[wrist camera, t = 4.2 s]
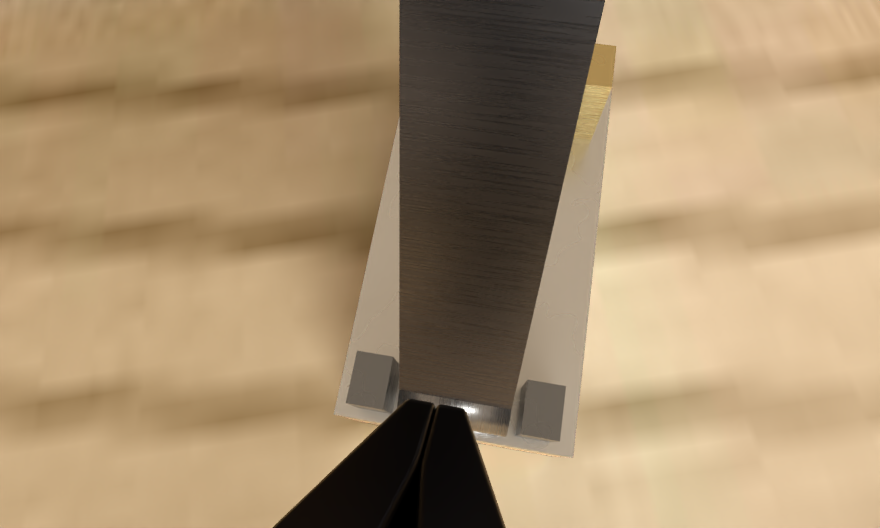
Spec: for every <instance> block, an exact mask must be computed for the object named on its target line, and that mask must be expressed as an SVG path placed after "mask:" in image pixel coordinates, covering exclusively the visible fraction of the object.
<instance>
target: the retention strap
mask: <svg viewBox="0 0 880 528" xmlns="http://www.w3.org/2000/svg"><path fill="white" fill-rule="evenodd" d="M604 3H605V0H400V123H399V395H398V402H397V408H398V407H399V406H400V405H401V404H402V403H403V402H404V401H406V400H408V399H415V400H421V401H427V402H432V403H433V404H434V405H435V407H437V406H438V405H440V404H443V405H449V406H455V407H460V408H463V409H465V411H466V412H467V415H468V418H469V421H470V423H471V426H472V429H473V431H475V432H481V433H486V434H492V435H498V436H503V437H506V436H507V432H508V428H509V422H510V416H511V410H512V405H513V401H514V396H515V392H516V388H517V383H518V379H519V375H520V370H521V366H522V361H523V357H524V353H525V348H526V344H527V339H528V335H529V331H530V326H531V322H532V318H533V313H534V309H535V304H536V300H537V296H538V291H539V287H540V283H541V278H542V274H543V269H544V265H545V261H546V256H547V252H548V248H549V243H550V239H551V234H552V230H553V226H554V221H555V217H556V213H557V208H558V204H559V199H560V195H561V191H562V186H563V182H564V178H565V173H566V169H567V164H568V160H569V156H570V151H571V147H572V143H573V138H574V134H575V129H576V125H577V121H578V116H579V112H580V108H581V103H582V99H583V94H584V90H585V86H586V81H587V77H588V73H589V68H590V64H591V59H592V55H593V51H594V46H595V42H596V38H597V33H598V29H599V24H600V20H601V16H602V11H603V7H604Z"/></svg>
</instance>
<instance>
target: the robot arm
mask: <svg viewBox="0 0 880 528" xmlns="http://www.w3.org/2000/svg"><path fill="white" fill-rule="evenodd" d="M273 528H506V527H505V524H504V521H503V518H502V515H501V512H500V509H499V506H498V503H497V500H496V498H495V495H494V492H493V489H492V486H491V483H490V480H489V477H488V474H487V471H486V468H485V465H484V462H483V459H482V456H481V453H480V450H479V447H478V444H477V441H476V438H475V435H474V432H473V429H472V426H471V423H470V421H469V418H468V415H467V412H466V411H465V409H463V408H460V407H455V406H449V405H443V404H440V405H438V406H437V407H435V405H434V404H433V403H432V402H427V401H421V400H415V399H408V400H406V401H404V402H403V403H402V404H401V405H400V406H399V407H398V408H397V409H396V410H395V411H394V412H393V413H392V414H391V415H390V416H389V417H388V418H387V419H386V420H385V421H384V422H382V423H381V424H380V425H379V426H378V427H377V428H376V429H375V430H374V431H373V432H372V433H371V434H370V435H369V436H368V437H367V438H366V439H365V440H364V441H363V442H362V443H360V444H359V445H358V446H357V447H356V448H355V449H354V450H353V451H352V452H351V453H350V454H349V455H348V456H347V457H346V458H345V459H344V460H343V461H342V462H341V463H340V464H339V465H337V466H336V467H335V468H334V469H333V470H332V471H331V472H330V473H329V474H328V475H327V476H326V477H325V478H324V479H323V480H322V481H321V482H320V483H319V484H318V485H317V486H316V487H314V488H313V489H312V490H311V491H310V492H309V493H308V494H307V495H306V496H305V497H304V498H303V499H302V500H301V501H300V502H299V503H298V504H297V505H296V506H295V507H294V508H292V509H291V510H290V511H289V512H288V513H287V514H286V515H285V516H284V517H283V518H282V519H281V520H280V521H279V522H278V523H277V524H276V525H275V526H274V527H273Z"/></svg>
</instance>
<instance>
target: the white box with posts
mask: <svg viewBox="0 0 880 528" xmlns="http://www.w3.org/2000/svg"><path fill="white" fill-rule="evenodd" d="M615 53H616V46H611V45H602V44H595V46H594V51H593V55H592V59H591V64H590V68H589V73H588V77H587V81H586V86H585V90H584V94H583V99H582V103H581V108H580V112H579V116H578V121H577V125H576V129H575V134H574V138H573V143H572V147H571V151H570V156H569V160H568V164H567V169H566V173H565V178H564V182H563V186H562V191H561V195H560V199H559V204H558V208H557V213H556V217H555V221H554V226H553V230H552V234H551V239H550V243H549V248H548V252H547V256H546V261H545V265H544V269H543V274H542V278H541V283H540V287H539V291H538V296H537V300H536V304H535V309H534V313H533V318H532V322H531V326H530V331H529V335H528V339H527V344H526V348H525V353H524V357H523V361H522V366H521V370H520V375H519V379H518V383H517V388H516V392H515V396H514V401H513V405H512V410H511V416H510V422H509V428H508V432H507V436H506V437H503V436H498V435H492V434H486V433H481V432H475V431H473V432H474V435H475V438H476V441H477V443H481V444H487V445H492V446H498V447H503V448H509V449H514V450H520V451H525V452H531V453H536V454H542V455H547V456H554V457H569V458H573V455H574V446H575V436H576V427H577V417H578V408H579V398H580V389H581V379H582V370H583V360H584V350H585V341H586V331H587V322H588V312H589V303H590V293H591V284H592V274H593V265H594V255H595V246H596V236H597V227H598V217H599V208H600V198H601V189H602V179H603V170H604V160H605V151H606V141H607V132H608V122H609V113H610V103H611V94H612V84H613V72H614V63H615ZM399 123H400V116H399V120H398V125H397V129H396V134H395V138H394V143H393V147H392V152H391V156H390V161H389V166H388V170H387V175H386V179H385V184H384V188H383V193H382V197H381V202H380V206H379V211H378V215H377V220H376V225H375V229H374V234H373V238H372V243H371V247H370V252H369V256H368V261H367V265H366V270H365V274H364V279H363V283H362V288H361V293H360V297H359V302H358V306H357V311H356V315H355V320H354V324H353V329H352V333H351V338H350V342H349V347H348V352H347V356H346V361H345V365H344V370H343V374H342V379H341V383H340V388H339V392H338V397H337V401H336V406H335V411H334V415H338V416H341V417H345V418H349V419H353V420H356V421H360V422H365V423H371V424H376V425H380V424H381V423H382V422H384V421H385V420H386V419H387V418H388V417H389V416H390V415H391V414H392V413H393V412H394V411H395V410H396V409H397V402H398V395H399Z"/></svg>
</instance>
